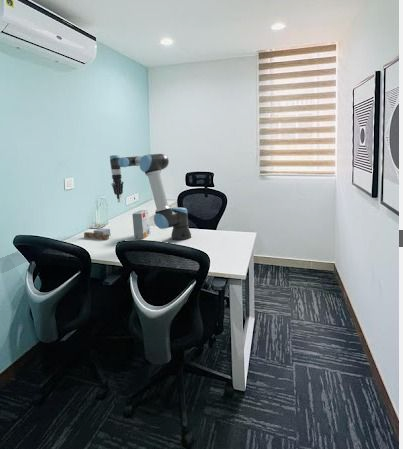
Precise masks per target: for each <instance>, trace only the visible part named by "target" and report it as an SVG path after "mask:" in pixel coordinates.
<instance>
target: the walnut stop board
mask: <svg viewBox="0 0 403 449" xmlns="http://www.w3.org/2000/svg"><path fill="white" fill-rule="evenodd" d="M83 236H84V238H85V239H94V240H95V239H96V240H105V241H107V240H110V236H109V234H102V233H94V232H89V231H85V232H83Z"/></svg>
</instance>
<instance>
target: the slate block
mask: <svg viewBox="0 0 403 449" xmlns="http://www.w3.org/2000/svg"><path fill="white" fill-rule="evenodd" d="M93 233H102V234H109V237H111V236H112V235H111V229H110V228H104V227H103V228H101V227H100V228H97V229H94V230H93Z"/></svg>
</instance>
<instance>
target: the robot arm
mask: <svg viewBox="0 0 403 449" xmlns="http://www.w3.org/2000/svg"><path fill="white" fill-rule="evenodd" d="M169 161H170V160H169V158H168V156H167V155H166V154H163V153H153V154H149V153H148V154H145V155H143V156H137V155H136V156H127V157H120V155H118V154H116V155H110V156H109V162H110V169H111V179H112V180H113V181H112V183H111V186H112V190H113V193H114V195H116V199H117V203H122V195H123V192H124V183H125V182H124V181H122V178H123V177H122V171H121V170H122V169H121V168H127V167H139V168H140V170H141V172H143V173H144V174H145V176H146V177H148V181H149V184H150V186H149V187H150V189H151V193H152V196H153V201H154V204H155V208H156V209H155V211H154V213H155V214H154V216H153V222H154V224H155V227H157V228H158V229H160V230H165V229H168V228H172V231H171V235H170V236H171V237H170V238H171V239H172V240H175V241H184V240H189V239H191V237H192V233H191V229H190V228H189V218H188V217H189V216H188V209H187V208H186V207H170V206H169V203H168V200H167V196H166V192H165V189H164V184H163V180H162V178H161V172H162V171H163V170H165V169H166V168H167V167H168V166H169Z"/></svg>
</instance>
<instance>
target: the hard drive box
mask: <svg viewBox="0 0 403 449" xmlns="http://www.w3.org/2000/svg"><path fill="white" fill-rule="evenodd" d="M149 214H150V213H149V209H139V210H137V211H135V212H133V213H132V226H133V237H134V240H138V239H139V240H142V239H143V240H144V239H145V238H147V237H148V236H149V235H150V234H151V227H150V215H149ZM146 236H147V237H146Z"/></svg>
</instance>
